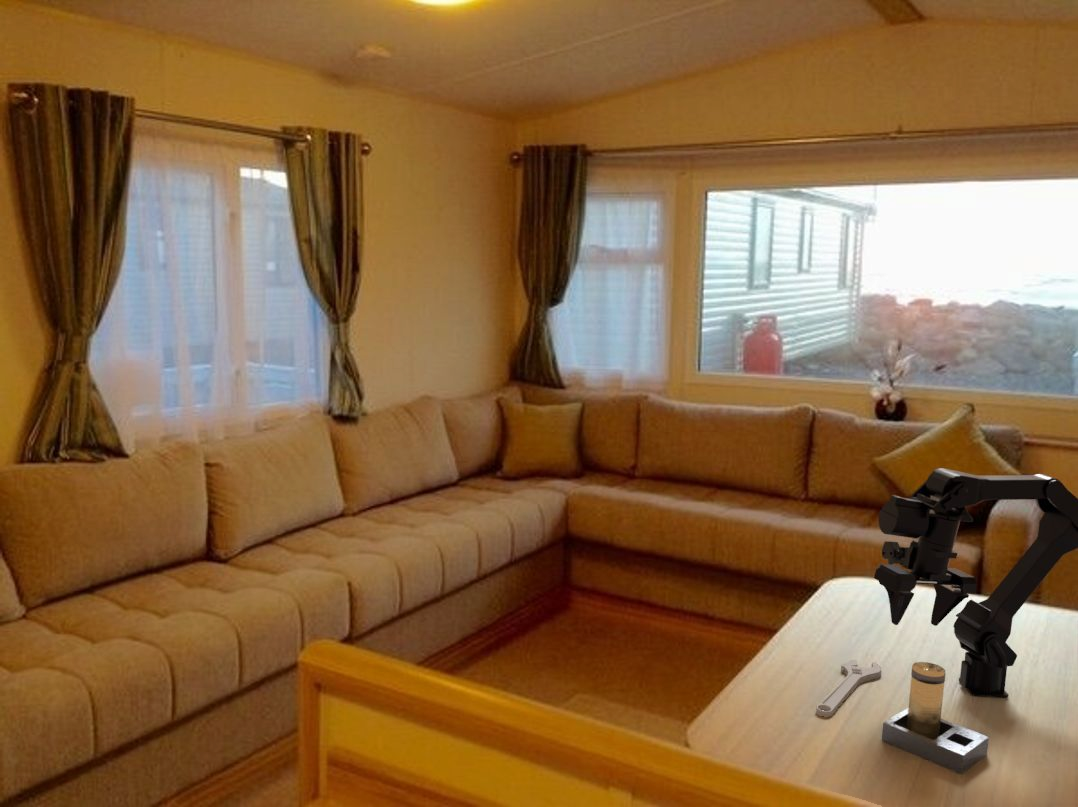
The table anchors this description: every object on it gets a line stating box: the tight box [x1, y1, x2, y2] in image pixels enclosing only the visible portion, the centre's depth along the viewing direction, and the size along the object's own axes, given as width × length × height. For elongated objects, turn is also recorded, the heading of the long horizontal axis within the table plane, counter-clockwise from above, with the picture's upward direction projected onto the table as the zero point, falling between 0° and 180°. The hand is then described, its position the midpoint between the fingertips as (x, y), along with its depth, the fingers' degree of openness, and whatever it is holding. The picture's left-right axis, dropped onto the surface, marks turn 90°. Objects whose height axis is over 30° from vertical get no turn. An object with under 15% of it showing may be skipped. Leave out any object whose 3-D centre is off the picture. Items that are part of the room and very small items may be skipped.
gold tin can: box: [907, 661, 946, 740], centre depth 146 cm, size 5×5×12 cm
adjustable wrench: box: [815, 659, 882, 718], centre depth 166 cm, size 25×6×2 cm, turn 139°
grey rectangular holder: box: [881, 706, 990, 775], centre depth 146 cm, size 13×9×3 cm
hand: (914, 624), depth 164 cm, fingers open, 9 cm apart
